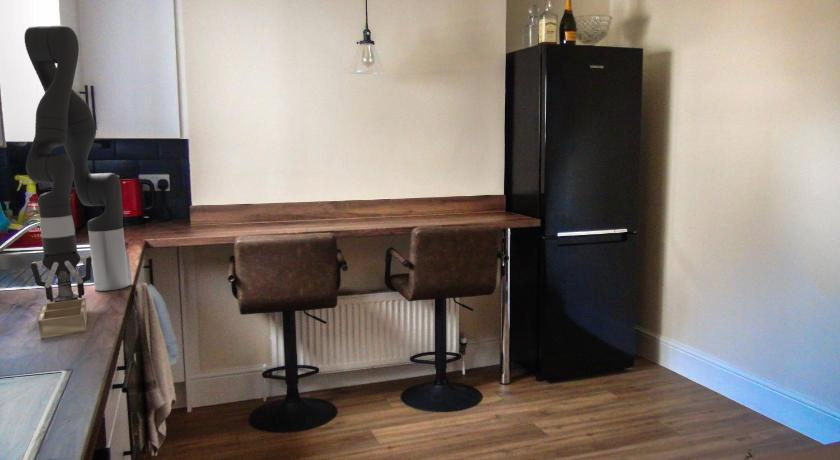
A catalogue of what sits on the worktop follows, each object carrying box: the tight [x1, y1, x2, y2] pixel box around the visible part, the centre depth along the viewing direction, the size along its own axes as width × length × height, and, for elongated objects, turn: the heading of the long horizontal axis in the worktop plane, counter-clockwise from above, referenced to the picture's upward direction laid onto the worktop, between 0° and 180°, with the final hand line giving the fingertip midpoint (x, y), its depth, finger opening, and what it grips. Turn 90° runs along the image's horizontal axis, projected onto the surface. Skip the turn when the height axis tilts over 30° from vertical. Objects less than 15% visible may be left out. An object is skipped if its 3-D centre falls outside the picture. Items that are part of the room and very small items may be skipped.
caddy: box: [38, 298, 88, 339], centre depth 160 cm, size 17×9×4 cm, turn 25°
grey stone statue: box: [53, 271, 79, 302], centre depth 173 cm, size 6×6×12 cm
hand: (66, 299), depth 173 cm, fingers closed on grey stone statue, 6 cm apart
